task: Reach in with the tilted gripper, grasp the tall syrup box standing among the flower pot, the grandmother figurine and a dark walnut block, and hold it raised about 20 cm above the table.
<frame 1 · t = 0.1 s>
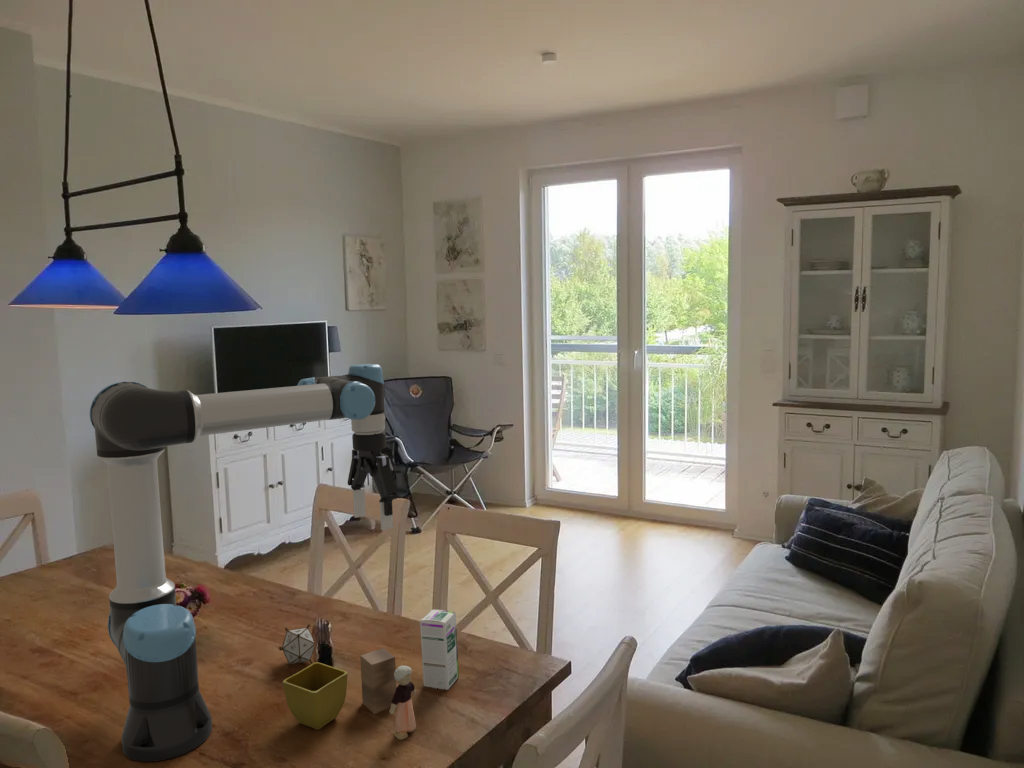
hand: (373, 522, 177), 28 cm above the table, tool pointing down, fingers open, 13 cm apart
grandmother figurine: (406, 732, 142), on the table
game die: (299, 663, 169), on the table
walnut block: (379, 704, 151), on the table
syrup box: (441, 682, 159), on the table
flower pot: (317, 722, 146), on the table
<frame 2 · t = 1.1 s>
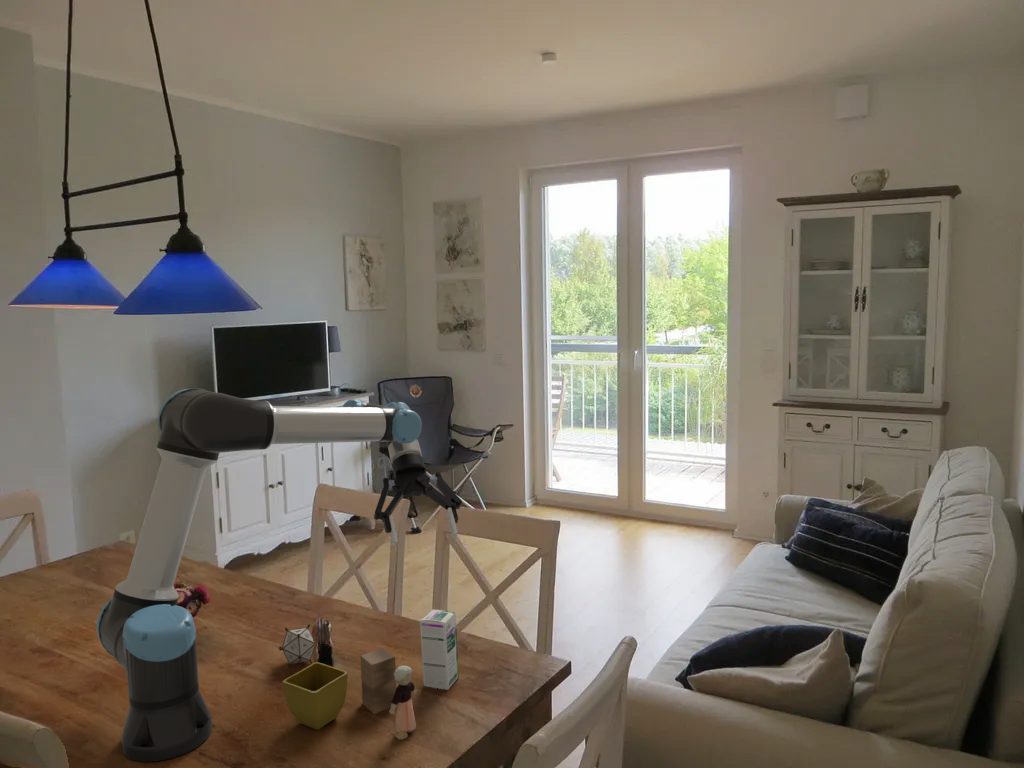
hand: (425, 540, 170), 26 cm above the table, tool tilted 45°, fingers open, 13 cm apart
nothing on the table moved.
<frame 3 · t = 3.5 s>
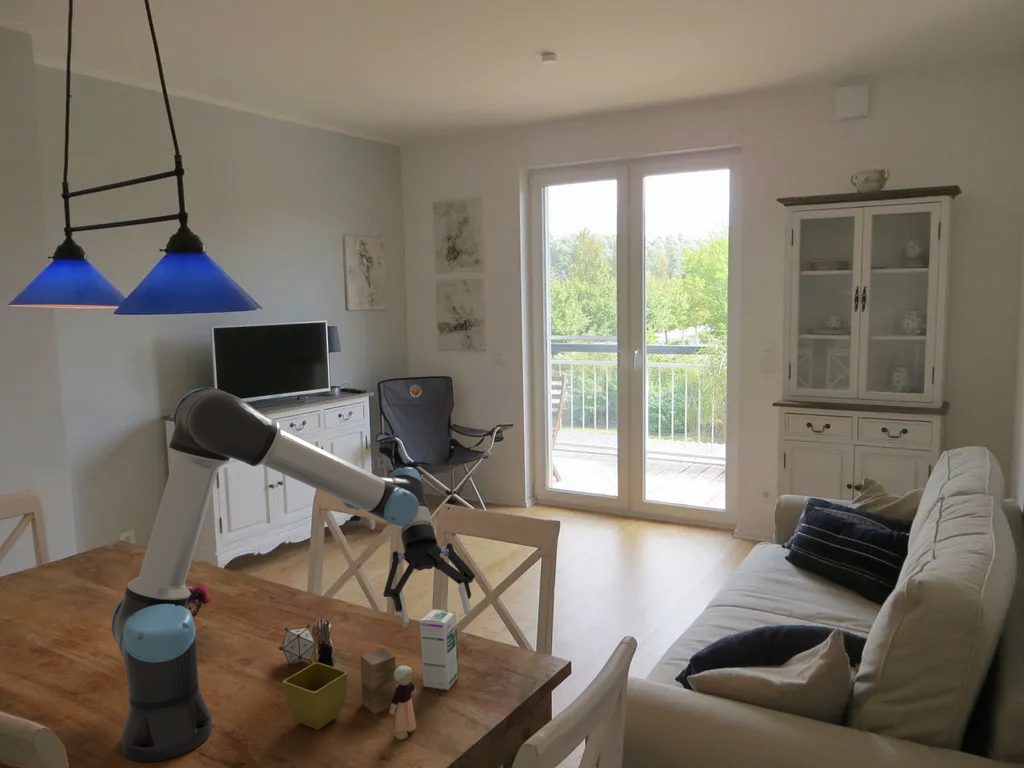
hand: (438, 619, 163), 11 cm above the table, tool tilted 45°, fingers open, 13 cm apart
nothing on the table moved.
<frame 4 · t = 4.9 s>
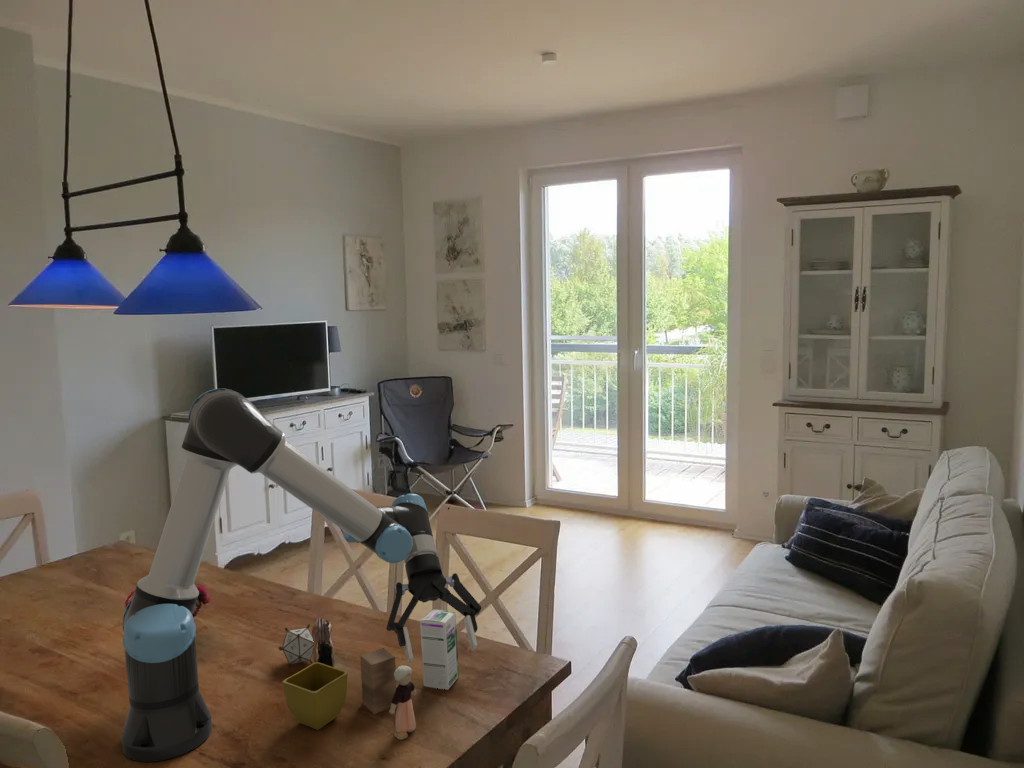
hand: (443, 654, 157), 7 cm above the table, tool tilted 45°, fingers open, 13 cm apart
nothing on the table moved.
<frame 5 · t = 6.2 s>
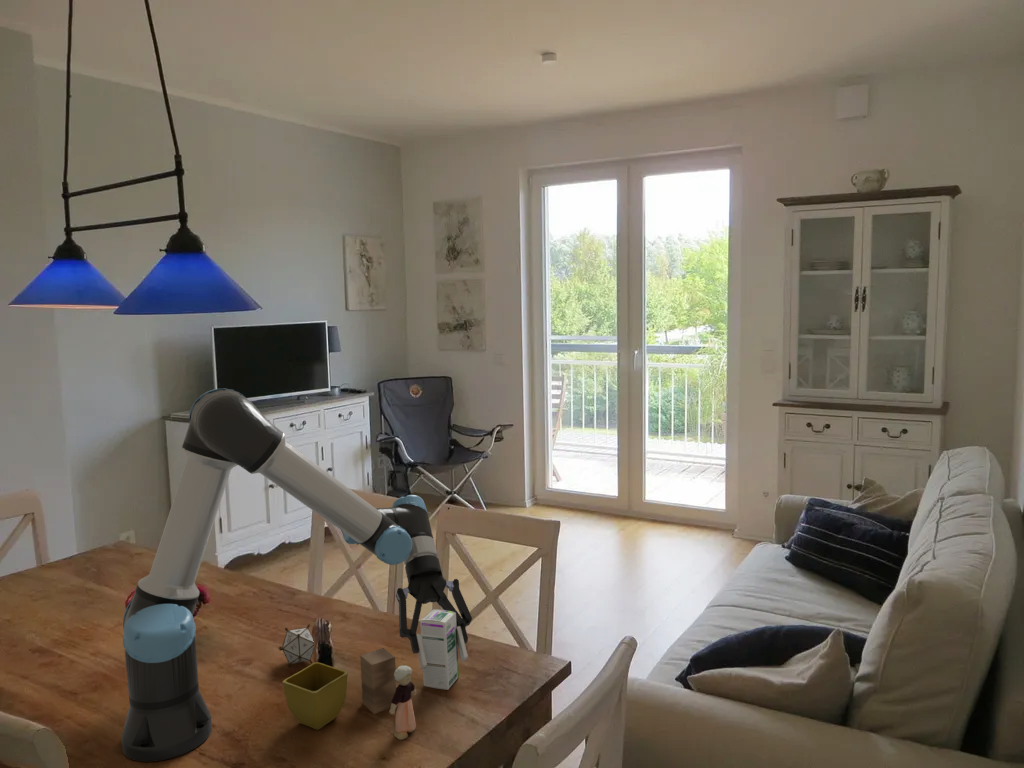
hand: (444, 663, 156), 6 cm above the table, tool tilted 45°, fingers closed on syrup box, 8 cm apart
syrup box: (441, 682, 159), on the table, touching gripper
everything else where it was.
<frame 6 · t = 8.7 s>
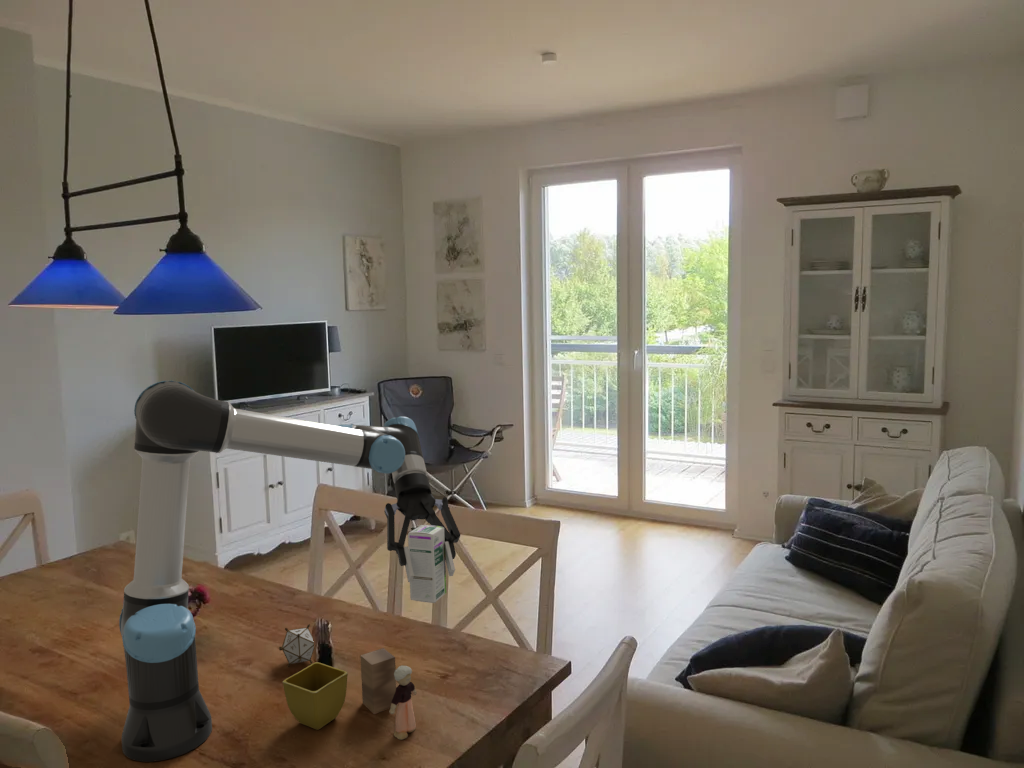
hand: (431, 575, 155), 24 cm above the table, tool tilted 45°, fingers closed on syrup box, 8 cm apart
syrup box: (428, 597, 159), point 18 cm above the table, touching gripper
everything else where it was.
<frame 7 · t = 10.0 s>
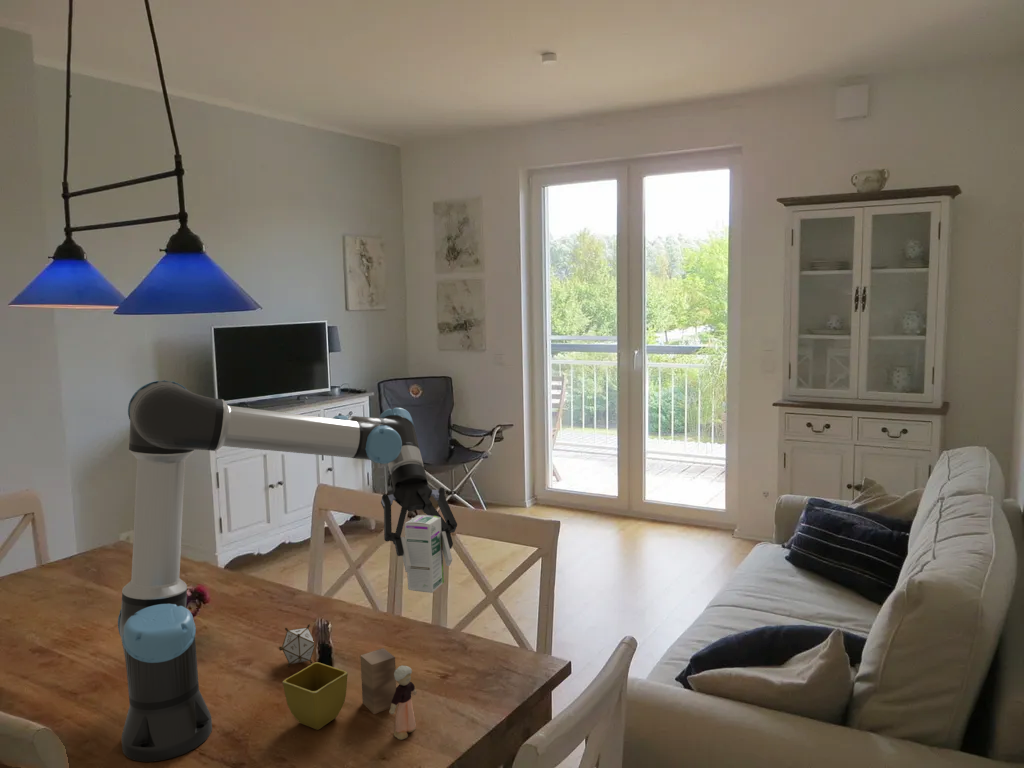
hand: (429, 565, 155), 26 cm above the table, tool tilted 45°, fingers closed on syrup box, 8 cm apart
syrup box: (425, 587, 159), point 20 cm above the table, touching gripper
everything else where it was.
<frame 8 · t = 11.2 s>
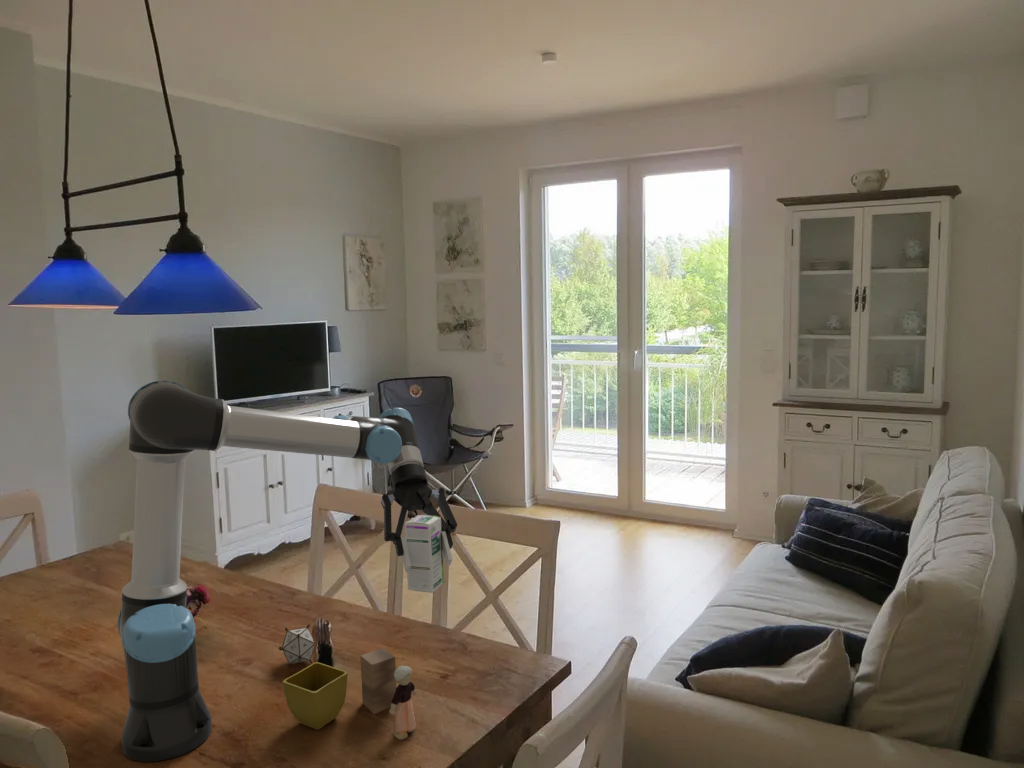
hand: (429, 565, 155), 26 cm above the table, tool tilted 45°, fingers closed on syrup box, 8 cm apart
syrup box: (425, 587, 159), point 20 cm above the table, touching gripper
everything else where it was.
at the end: the gripper is holding syrup box; syrup box point 19.7 cm above the table; grandmother figurine moved 0.2 cm from its start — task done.
